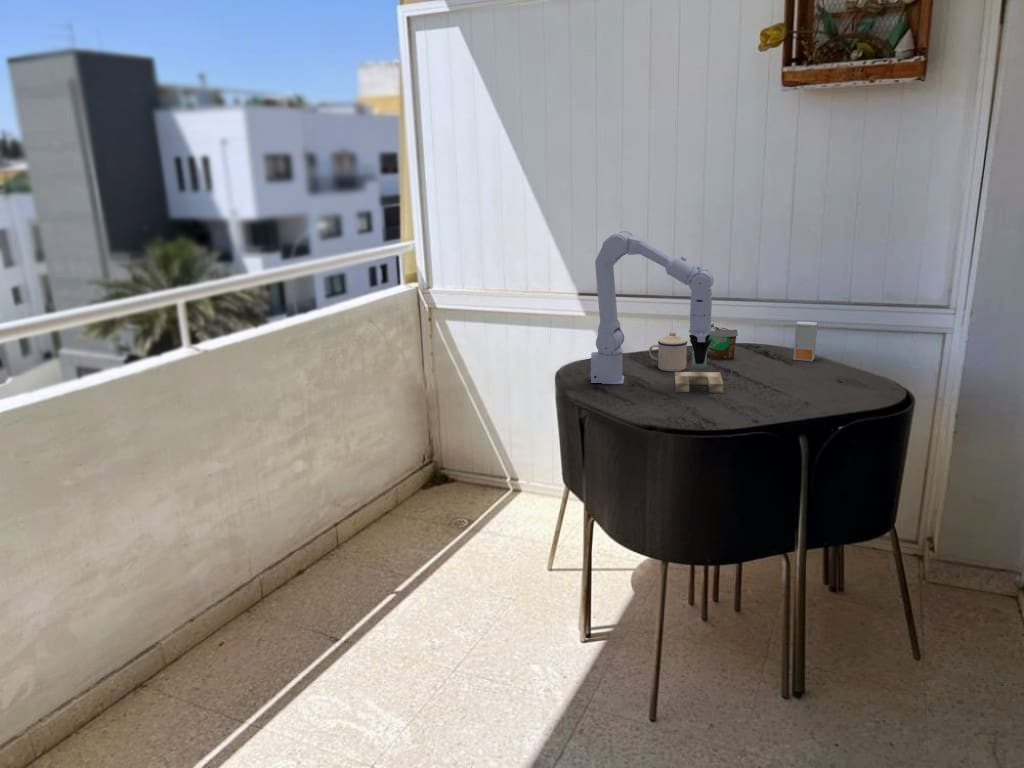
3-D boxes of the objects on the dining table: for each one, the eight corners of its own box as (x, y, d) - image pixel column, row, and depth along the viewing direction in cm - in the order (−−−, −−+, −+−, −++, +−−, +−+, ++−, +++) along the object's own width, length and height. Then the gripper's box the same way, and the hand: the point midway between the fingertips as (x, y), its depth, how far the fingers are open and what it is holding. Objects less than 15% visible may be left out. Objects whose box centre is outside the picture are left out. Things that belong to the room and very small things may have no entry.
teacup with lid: (689, 365, 231) (690, 329, 228) (682, 372, 223) (683, 336, 220) (653, 362, 236) (653, 327, 233) (645, 369, 229) (645, 333, 225)
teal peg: (692, 367, 205) (692, 350, 203) (691, 364, 208) (692, 347, 207) (706, 368, 204) (707, 350, 202) (705, 364, 208) (706, 347, 206)
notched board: (675, 391, 205) (675, 383, 204) (674, 379, 216) (674, 371, 216) (723, 392, 202) (723, 383, 202) (719, 380, 214) (720, 372, 213)
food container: (697, 354, 244) (698, 325, 241) (711, 352, 246) (712, 323, 244) (721, 362, 233) (723, 332, 230) (736, 359, 236) (738, 329, 233)
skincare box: (792, 360, 232) (795, 323, 229) (795, 357, 236) (797, 320, 232) (813, 361, 229) (816, 324, 226) (815, 358, 233) (817, 322, 229)
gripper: (717, 319, 194) (715, 368, 198) (713, 309, 208) (712, 355, 212) (690, 319, 196) (689, 367, 200) (688, 309, 209) (687, 355, 213)
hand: (699, 361), depth 206 cm, fingers closed on teal peg, 4 cm apart
